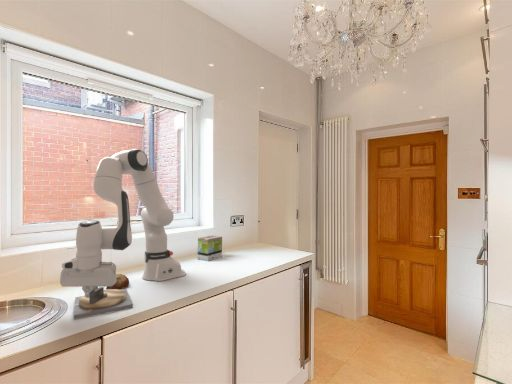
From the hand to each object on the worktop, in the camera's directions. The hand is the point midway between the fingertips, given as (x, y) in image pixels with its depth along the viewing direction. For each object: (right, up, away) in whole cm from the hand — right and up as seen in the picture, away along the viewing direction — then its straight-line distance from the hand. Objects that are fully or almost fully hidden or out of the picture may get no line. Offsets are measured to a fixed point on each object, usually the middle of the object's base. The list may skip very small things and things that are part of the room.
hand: (88, 297), depth 111 cm
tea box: (+34, -5, +85) cm, 92 cm away
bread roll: (-2, -5, +27) cm, 28 cm away
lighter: (-10, -5, +22) cm, 25 cm away
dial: (+2, -4, +6) cm, 7 cm away
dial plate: (+2, -5, +6) cm, 8 cm away
